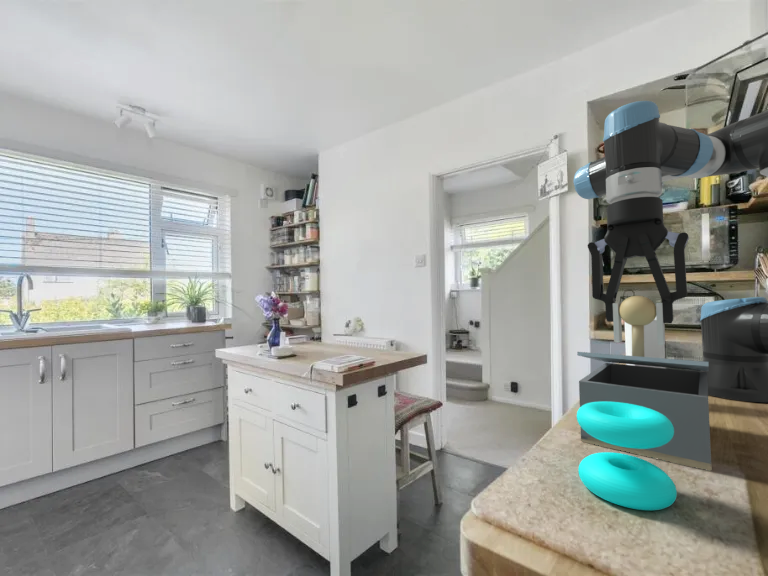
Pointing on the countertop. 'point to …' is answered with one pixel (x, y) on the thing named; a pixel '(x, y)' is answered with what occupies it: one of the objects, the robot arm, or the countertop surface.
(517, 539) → the countertop surface
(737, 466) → the countertop surface
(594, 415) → the donuts
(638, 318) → the flap
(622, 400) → the carton
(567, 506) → the countertop surface
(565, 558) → the countertop surface
